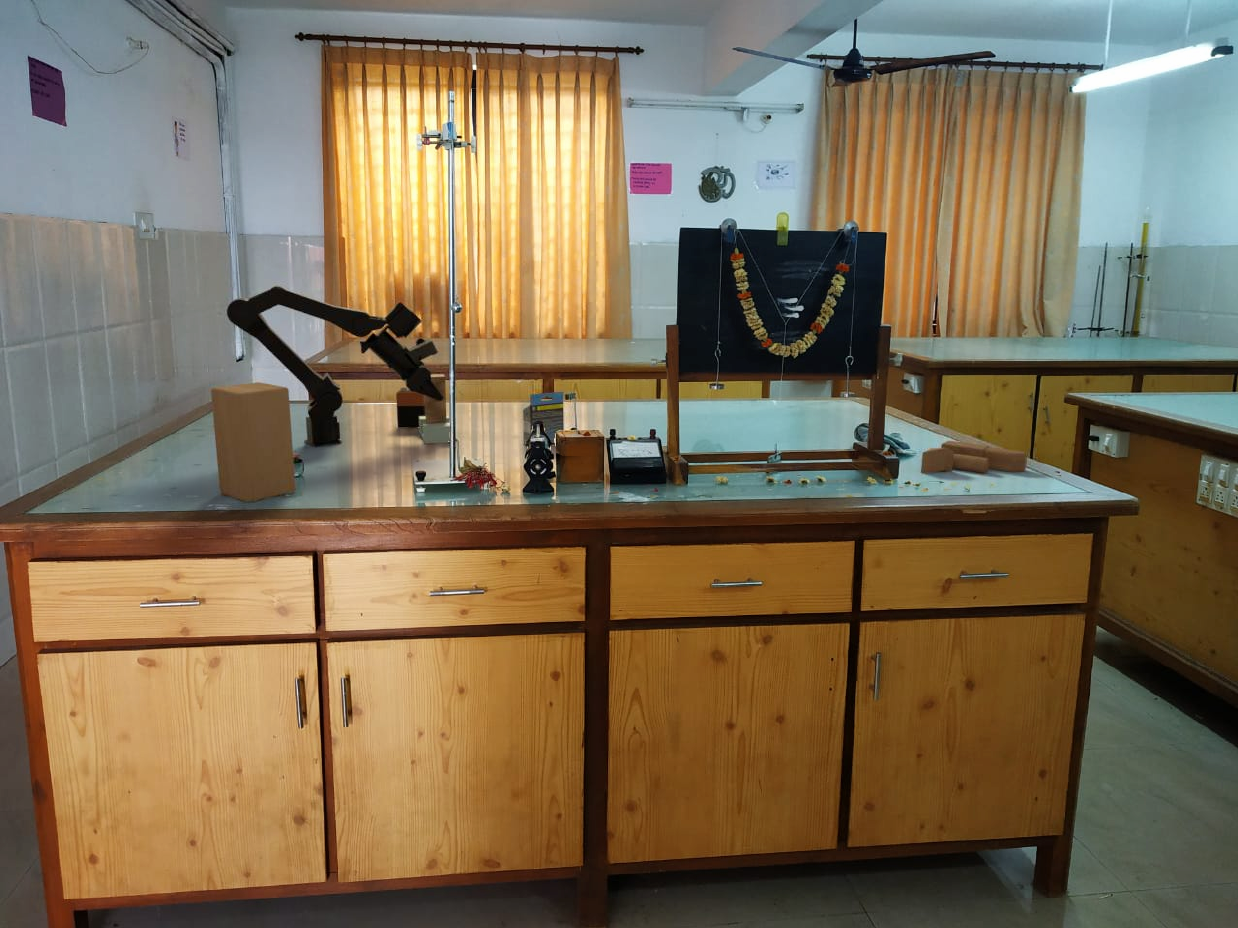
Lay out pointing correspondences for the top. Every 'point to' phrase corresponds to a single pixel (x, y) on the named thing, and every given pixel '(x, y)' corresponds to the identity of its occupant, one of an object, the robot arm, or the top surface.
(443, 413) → the slat
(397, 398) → the battery
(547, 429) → the label tape cartridge
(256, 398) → the wooden block
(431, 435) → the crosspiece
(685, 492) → the top surface
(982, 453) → the wooden block set
